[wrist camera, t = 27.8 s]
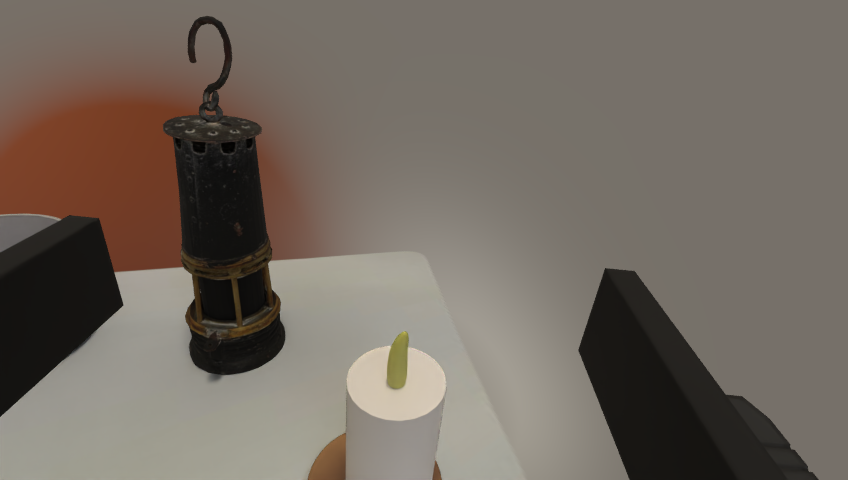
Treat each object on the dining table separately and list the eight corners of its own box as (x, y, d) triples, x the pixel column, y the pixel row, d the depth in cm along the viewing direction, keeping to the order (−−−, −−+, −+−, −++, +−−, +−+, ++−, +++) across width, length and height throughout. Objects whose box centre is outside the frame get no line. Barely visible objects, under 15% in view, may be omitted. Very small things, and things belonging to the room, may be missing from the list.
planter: (-18, 303, 47) (-59, 214, 42) (119, 296, 50) (95, 212, 45) (-120, 397, 36) (-192, 290, 31) (64, 381, 39) (24, 281, 34)
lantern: (210, 389, 39) (139, 15, 25) (176, 336, 45) (103, 6, 31) (301, 347, 45) (284, 24, 31) (261, 304, 51) (231, 14, 37)
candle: (412, 435, 36) (429, 284, 29) (444, 510, 31) (473, 348, 24) (337, 456, 34) (336, 297, 27) (357, 541, 29) (362, 371, 22)
